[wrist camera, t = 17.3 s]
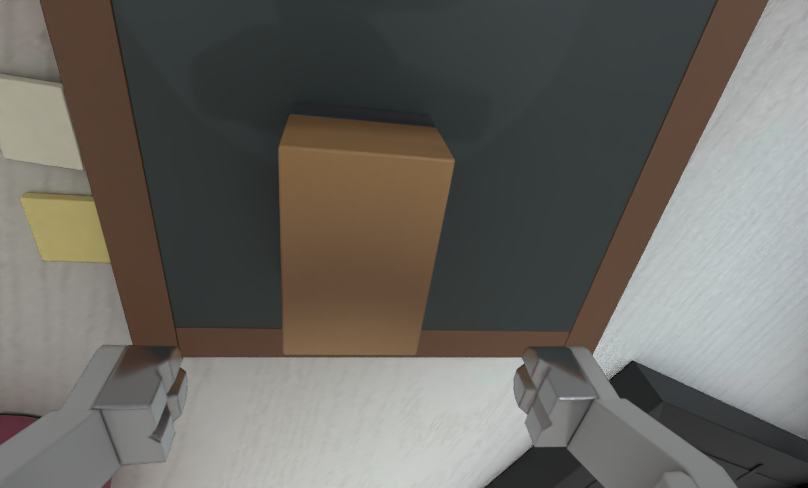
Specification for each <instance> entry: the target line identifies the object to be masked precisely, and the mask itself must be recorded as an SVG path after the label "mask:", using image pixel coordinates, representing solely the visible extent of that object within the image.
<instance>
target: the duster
mask: <svg viewBox="0 0 808 488" xmlns="http://www.w3.org/2000/svg"><path fill="white" fill-rule="evenodd" d="M278 163H279V206H280V249H281V293H282V336H283V353H284V354H285V355H415V354H416V353H417V349H418V344H419V339H420V334H421V329H422V324H423V319H424V314H425V309H426V304H427V299H428V294H429V289H430V284H431V279H432V274H433V269H434V264H435V259H436V254H437V249H438V244H439V239H440V234H441V229H442V224H443V219H444V214H445V209H446V204H447V199H448V194H449V189H450V184H451V179H452V174H453V169H454V164H455V159H454V158H453V156H452V154H451V152H450V151H449V149H448V147H447V145H446V144H445V142H444V140H443V138H442V136H441V135H440V133H439V131H438V129H437V128H436V126H435V124H434V122H433V120H432V119H431V117H430V115H426V114H415V113H405V112H395V111H384V110H374V109H363V108H353V107H343V106H332V105H322V104H311V103H301V102H293V105H292V108H291V111H290V113H289V117H288V120H287V123H286V126H285V129H284V132H283V135H282V138H281V141H280V144H279V147H278Z"/></svg>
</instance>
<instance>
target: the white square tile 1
mask: <svg viewBox="0 0 808 488" xmlns="http://www.w3.org/2000/svg"><path fill="white" fill-rule="evenodd" d="M0 148H1V151H2V153H3V156H4V158H6V159H12V160H18V161H25V162H31V163H37V164H44V165H50V166H56V167H63V168H69V169H75V170H82V171H83V170H86V169H85V166H84V162H83V158H82V155H81V151H80V147H79V143H78V140H77V136H76V132H75V129H74V125H73V121H72V118H71V114H70V110H69V106H68V103H67V99H66V95H65V92H64V88H63V84H62V83H56V82H49V81H43V80H36V79H30V78H24V77H17V76H11V75H4V74H0Z"/></svg>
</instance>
